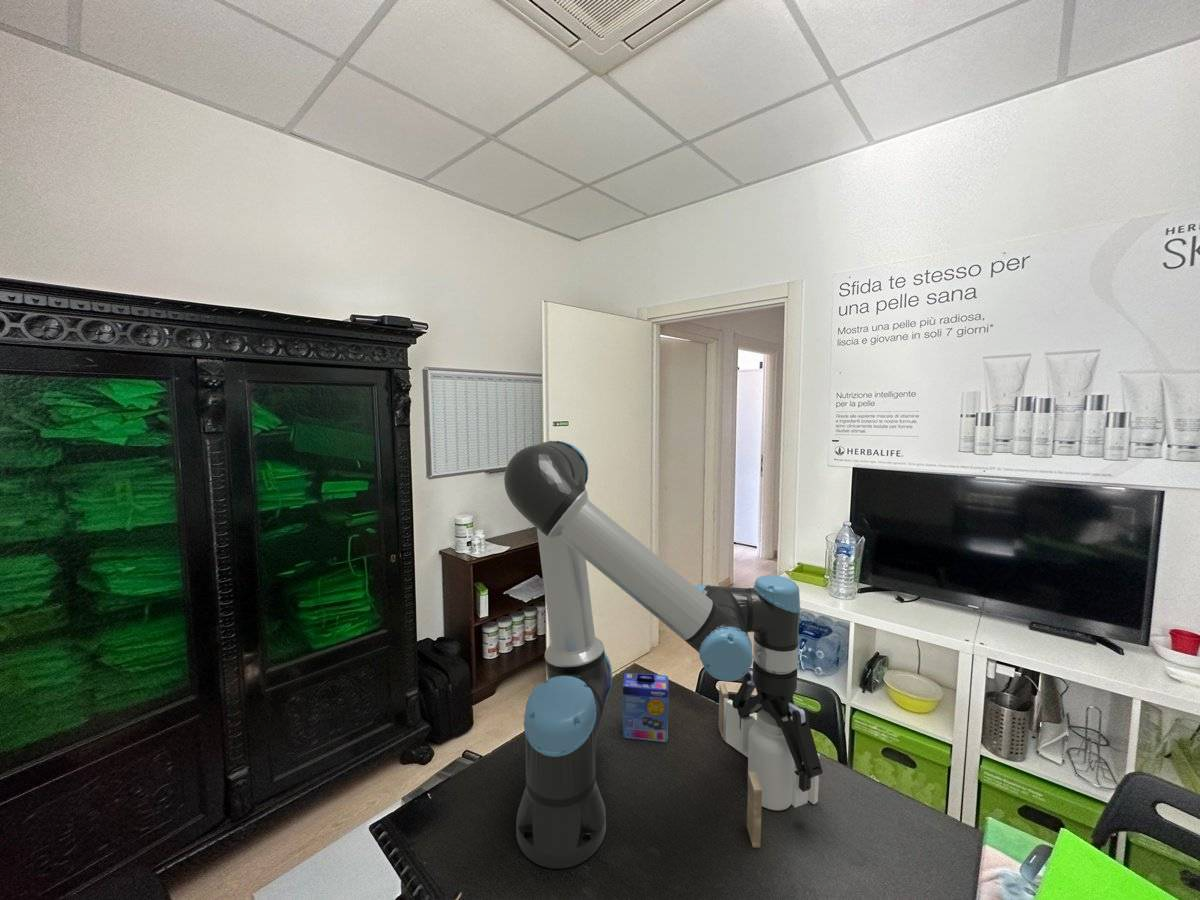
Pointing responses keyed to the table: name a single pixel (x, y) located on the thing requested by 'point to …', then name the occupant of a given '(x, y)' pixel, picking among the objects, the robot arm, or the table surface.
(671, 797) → the table surface
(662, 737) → the ink cartridge box
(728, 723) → the door
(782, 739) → the pill bottle
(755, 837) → the oak wall
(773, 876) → the table surface
